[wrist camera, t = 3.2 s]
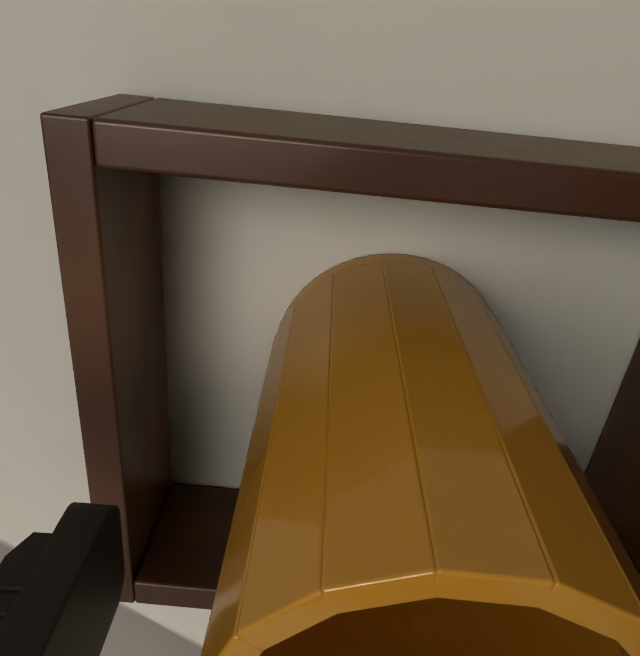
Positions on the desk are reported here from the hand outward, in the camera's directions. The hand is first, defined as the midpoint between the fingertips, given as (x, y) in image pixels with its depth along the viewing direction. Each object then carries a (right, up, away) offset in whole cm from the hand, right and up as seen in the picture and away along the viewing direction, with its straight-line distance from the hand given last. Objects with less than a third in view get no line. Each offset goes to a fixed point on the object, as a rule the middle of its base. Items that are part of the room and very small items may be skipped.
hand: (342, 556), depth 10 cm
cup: (+1, +3, +5) cm, 6 cm away
